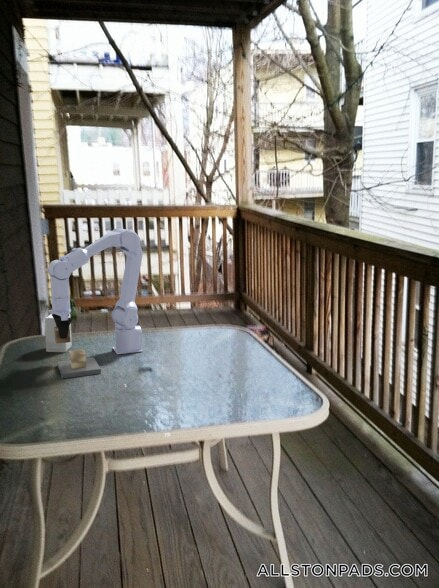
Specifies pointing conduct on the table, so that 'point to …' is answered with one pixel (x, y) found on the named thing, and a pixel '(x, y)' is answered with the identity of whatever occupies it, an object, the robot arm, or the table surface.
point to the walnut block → (58, 339)
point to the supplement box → (50, 336)
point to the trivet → (68, 371)
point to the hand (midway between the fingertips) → (62, 336)
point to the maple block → (77, 358)
